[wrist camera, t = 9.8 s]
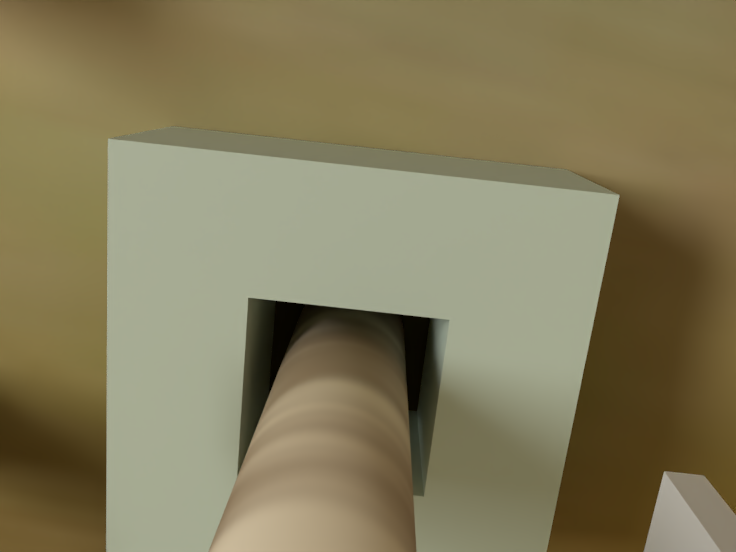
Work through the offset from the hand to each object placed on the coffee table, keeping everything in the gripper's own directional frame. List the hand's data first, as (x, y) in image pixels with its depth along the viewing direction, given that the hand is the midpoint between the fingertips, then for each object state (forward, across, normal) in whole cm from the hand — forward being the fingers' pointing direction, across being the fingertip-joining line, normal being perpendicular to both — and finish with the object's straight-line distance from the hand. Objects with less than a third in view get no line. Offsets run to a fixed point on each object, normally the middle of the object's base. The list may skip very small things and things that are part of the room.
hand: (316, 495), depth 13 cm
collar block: (+9, 0, 0) cm, 10 cm away
